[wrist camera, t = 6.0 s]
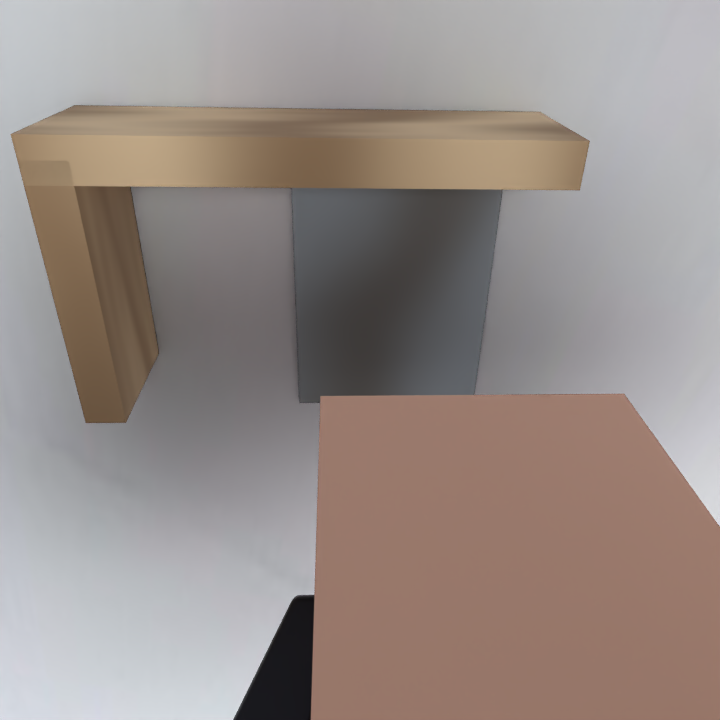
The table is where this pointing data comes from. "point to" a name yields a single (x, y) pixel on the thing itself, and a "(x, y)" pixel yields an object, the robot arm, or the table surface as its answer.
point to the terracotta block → (509, 564)
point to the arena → (294, 231)
